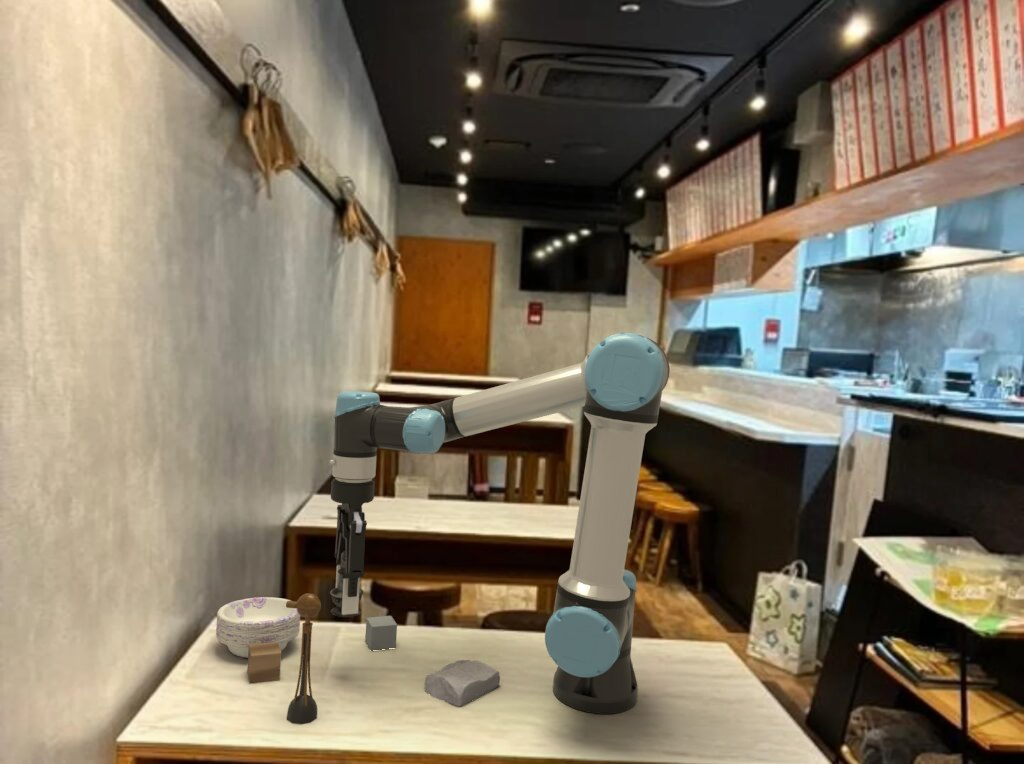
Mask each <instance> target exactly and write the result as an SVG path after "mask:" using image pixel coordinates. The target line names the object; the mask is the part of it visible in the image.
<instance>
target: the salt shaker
mask: <svg viewBox="0 0 1024 764" xmlns="http://www.w3.org/2000/svg"><path fill="white" fill-rule="evenodd" d="M338 572H339V573H340V576H339V584H338V587H337V588H336V587H334V588H332V589H331V590H330V591H329V594H330V595H331V600H332V603H333V604H334V605H335V607H332V609H330V613H331V615H333V616H335V617H339V618H341V617H342V618H350V617H355V616H358V615H360V614H361V613H362V610H361V608H359V607H358V613H357V614H346V615H342V599H343V581H344V579H342V578H341V575H345V574H346V551H344V552H343V553H342V554H341V566H340V569H339V570H338ZM364 593H365V592H364V590H363V589H362V588H359V603H360V602H361V600H362V597H363V595H364Z"/></svg>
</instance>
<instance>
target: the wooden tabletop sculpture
mask: <svg viewBox="0 0 1024 764" xmlns="http://www.w3.org/2000/svg"><path fill="white" fill-rule="evenodd" d="M286 607H287V608H295V609H297V612H298V613H299V615H300V618H304V620H305V621H304V622H303V623H302V624H301V625H302V628H301V629H302V633H301V650H300V659H299V660H300V663H299V671H298V678H297V685H296V688H295V692H294V693H295V694H294V698H292V700H291V701H290V703H289V705H288V707H287V713H286V721H288V722H290V723H291V724H296V725H304V724H311V723H312V722H313V721H315V720H316V719H318V705H317V702H316V700H315V699H314V698H313V691H312V686H311V685H312V682H311V680H312V679H311V647H312V634H313V633H312V632H313V631H312V630H313V629H312V628H313V625H314V624H313V622H311V619H313V618H316V617H317V616H318V615H319V613H320V611H321V608H322V603H321V600H320V599H319V597H318V596H317V595H316V594H314V593H304V594H302V595H301V596H299V598H298V599H297V601H293V600H290V601H287V603H286ZM307 690H308V691H309V694H308V691H307ZM298 693H299V694H298Z"/></svg>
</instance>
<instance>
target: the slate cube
mask: <svg viewBox="0 0 1024 764" xmlns="http://www.w3.org/2000/svg"><path fill="white" fill-rule="evenodd" d="M365 621H366V623H365V640H364V642H365V644H366V645H368V646H367V648H368V647H369V648H368V649H370V650H371V651H372V652H374V651H373V650H382V649H389V648H396V649H397V632H398V623H397V622H396V621H395V619H394V618H393V616H392V615H384V616H373V617H372V616H371V617H366V619H365ZM370 650H369V651H370ZM371 651H370V652H371ZM382 651H383V650H382Z"/></svg>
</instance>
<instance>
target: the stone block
mask: <svg viewBox="0 0 1024 764" xmlns="http://www.w3.org/2000/svg"><path fill="white" fill-rule="evenodd" d="M500 675H501V674H500V671H499V670H497V669H495V668H493V667H492V666H490V665H488V664H486V663H484V662H481V661H479V660H470V659H460V660H456V661H454V662H453V663H449V664H447V665H445V666H443V667H442V668H441V669H440V670H437V671H434V672H432V673H429V674H426V675H425V678H424V679H425V680H424V689H425V693H426V692H427V693H426V694H428V695H429V694H430V695H429V696H431V697H432V698H435V699H437V700H440V701H443V700H444V702H446V703H447V702H448V703H447V704H449V703H450V705H454V706H455V707H457V706H458V708H462V707H463V705H464V706H465V704H466V705H467V704H469V703H471V702H473V701H475V700H477V699H479V698H480V696H481V697H483V696H484V695H486V694H487V692H488V693H490V692H492V691H494V690H495V689H497V687H499V684H500V681H501V677H500ZM491 690H492V691H491ZM489 691H490V692H489ZM485 693H486V694H485ZM482 695H483V696H482ZM478 697H479V698H478ZM476 698H477V699H476ZM474 699H475V700H474ZM472 700H473V701H472ZM470 701H471V702H470Z"/></svg>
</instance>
